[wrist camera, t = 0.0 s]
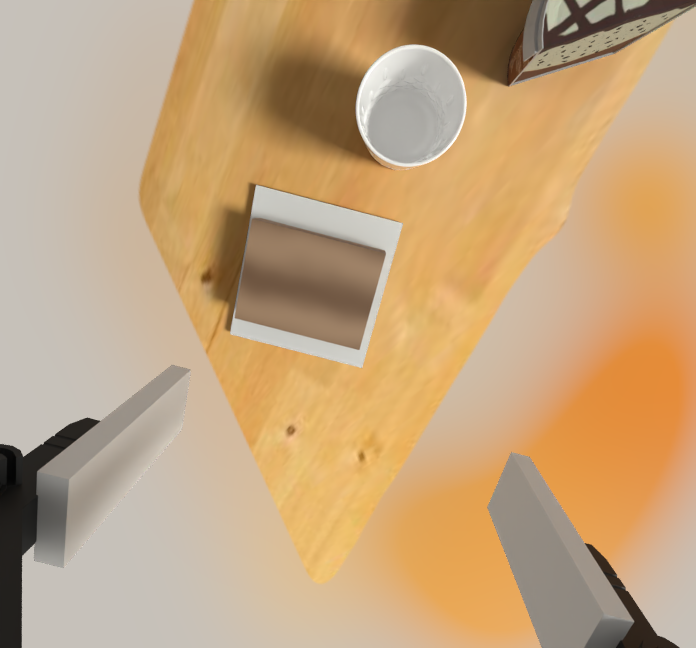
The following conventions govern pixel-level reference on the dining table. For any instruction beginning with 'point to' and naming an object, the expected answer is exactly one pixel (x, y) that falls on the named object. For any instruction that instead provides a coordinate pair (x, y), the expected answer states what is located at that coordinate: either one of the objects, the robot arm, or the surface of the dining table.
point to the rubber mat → (331, 224)
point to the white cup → (410, 106)
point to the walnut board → (308, 283)
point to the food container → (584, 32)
